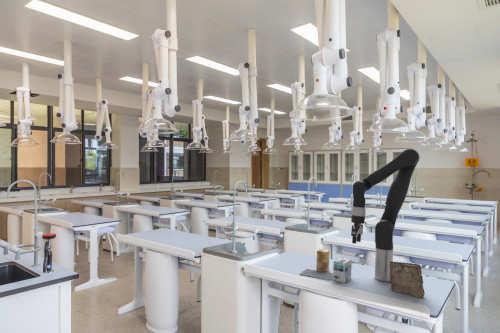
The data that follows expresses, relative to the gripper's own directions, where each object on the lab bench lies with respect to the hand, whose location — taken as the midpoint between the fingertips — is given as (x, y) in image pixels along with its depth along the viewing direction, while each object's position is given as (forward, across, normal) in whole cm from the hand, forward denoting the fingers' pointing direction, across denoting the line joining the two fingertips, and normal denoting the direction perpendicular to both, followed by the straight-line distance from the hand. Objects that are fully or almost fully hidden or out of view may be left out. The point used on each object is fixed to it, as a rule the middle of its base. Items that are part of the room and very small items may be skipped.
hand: (356, 242), depth 192 cm
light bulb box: (+20, -13, +2) cm, 24 cm away
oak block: (+20, -4, +18) cm, 27 cm away
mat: (+20, -14, +16) cm, 29 cm away
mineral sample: (+19, -13, -30) cm, 38 cm away
